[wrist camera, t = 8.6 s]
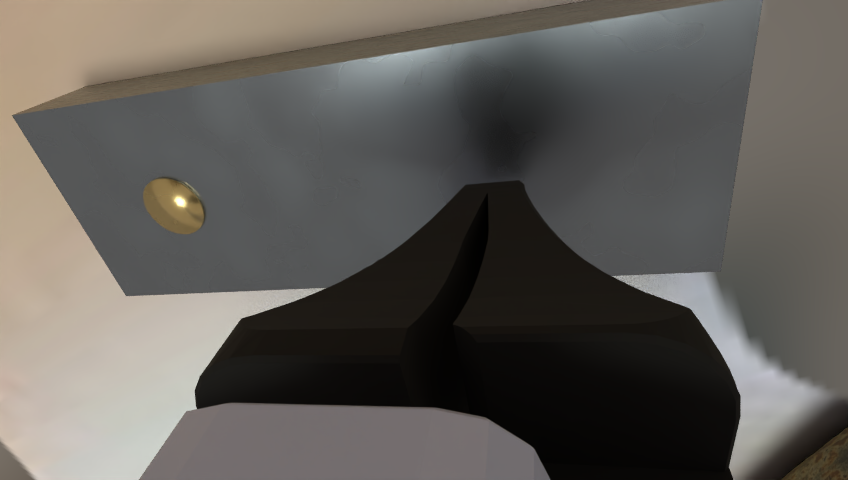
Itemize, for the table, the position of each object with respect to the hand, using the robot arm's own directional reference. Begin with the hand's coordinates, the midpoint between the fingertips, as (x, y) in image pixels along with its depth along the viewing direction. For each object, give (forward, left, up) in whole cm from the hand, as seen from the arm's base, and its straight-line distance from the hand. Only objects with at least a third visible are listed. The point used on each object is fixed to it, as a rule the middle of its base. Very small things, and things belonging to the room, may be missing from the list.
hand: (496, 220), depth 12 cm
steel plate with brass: (0, +4, -5) cm, 7 cm away
